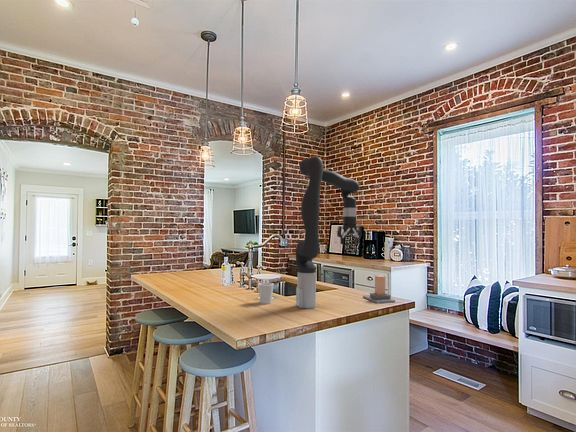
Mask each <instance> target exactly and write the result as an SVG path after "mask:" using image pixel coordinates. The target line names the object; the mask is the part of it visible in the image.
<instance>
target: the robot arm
mask: <svg viewBox="0 0 576 432" xmlns="http://www.w3.org/2000/svg"><path fill="white" fill-rule="evenodd" d="M299 171H300V173H301V174H302V175H303V176H305V177H308V178H309V182H308V186H307V188H306V190H305V192H304V194H303V197H302V199H301V204H300V205H301V206H300V216H301V219H302V223H303V226H304V227H303V228H304V239H303V240H300V241H298V242H297V244H296V246H295V265H296V269H297V286H296V288H295V306H296V307H297V308H299V309H314V308H316V305H317V297H316V296H317V294H316V293H317V292H316V291H317V289H316V287H317V268H316V267H317V266H316V265H315V264H314V263H313V260H314V259H315V258H317V257H318V255H319V251H320V242H319V241H320V240H319V225H320V224H319V221H320V217H319V216H320V208H321V207H320V204H321V203H320V200H321V186H322V182H324V183H327V184H328V185H331V186H333V187H335V188H337V189H340V192H341V196H342V200H343V212H342V226H341V225H338V226H337V233H336V237H338V238H340V244H341V245H342V246H344V245H345V236H347V235H353V236H354V245H356V246H358V245H359V243H360V242H359V238H362V237H363V234H362V233H363V230H362V226H360V225H359V226H357V199H356V198H355V197H352V196H351V194H354V193H355V194H356V193H357V192H359V190H360V184H359V183H358V181H357V180H354V179H353V178H349V177H345V176H343V175H342V174H340V173H338V172H335V171H332V170H327V169H324V164H323V160H322V159H321V157H319V156H312V157H311V156H310V157H307V158H304V159H302V160H301V161H300V163H299ZM342 230H343V231H342ZM356 230H357V231H356Z"/></svg>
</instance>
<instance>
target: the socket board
mask: <svg viewBox="0 0 576 432" xmlns="http://www.w3.org/2000/svg"><path fill="white" fill-rule="evenodd" d="M391 297H392V296H391V294H387V293H385V295H380V296H378V295H375V292H369V295H362V298H363V299H366V300H368V301H371V302H373V303H375V304H388V303H396V300H395V299H392V298H391Z"/></svg>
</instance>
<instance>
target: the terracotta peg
mask: <svg viewBox="0 0 576 432" xmlns="http://www.w3.org/2000/svg"><path fill="white" fill-rule="evenodd" d="M374 293H375V295H378V296H380V295H385V294H386V276H384V275H374Z"/></svg>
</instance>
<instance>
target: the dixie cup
mask: <svg viewBox="0 0 576 432" xmlns="http://www.w3.org/2000/svg"><path fill="white" fill-rule="evenodd" d="M257 285H258V292H259V293H258V294H259V301H260V304H261V305H270V304H271V303H272V300H273V299H272V297H273V291H274V286H275V285H274V282H269V281H267V282H264V281H263V282H259V283H257Z"/></svg>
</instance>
